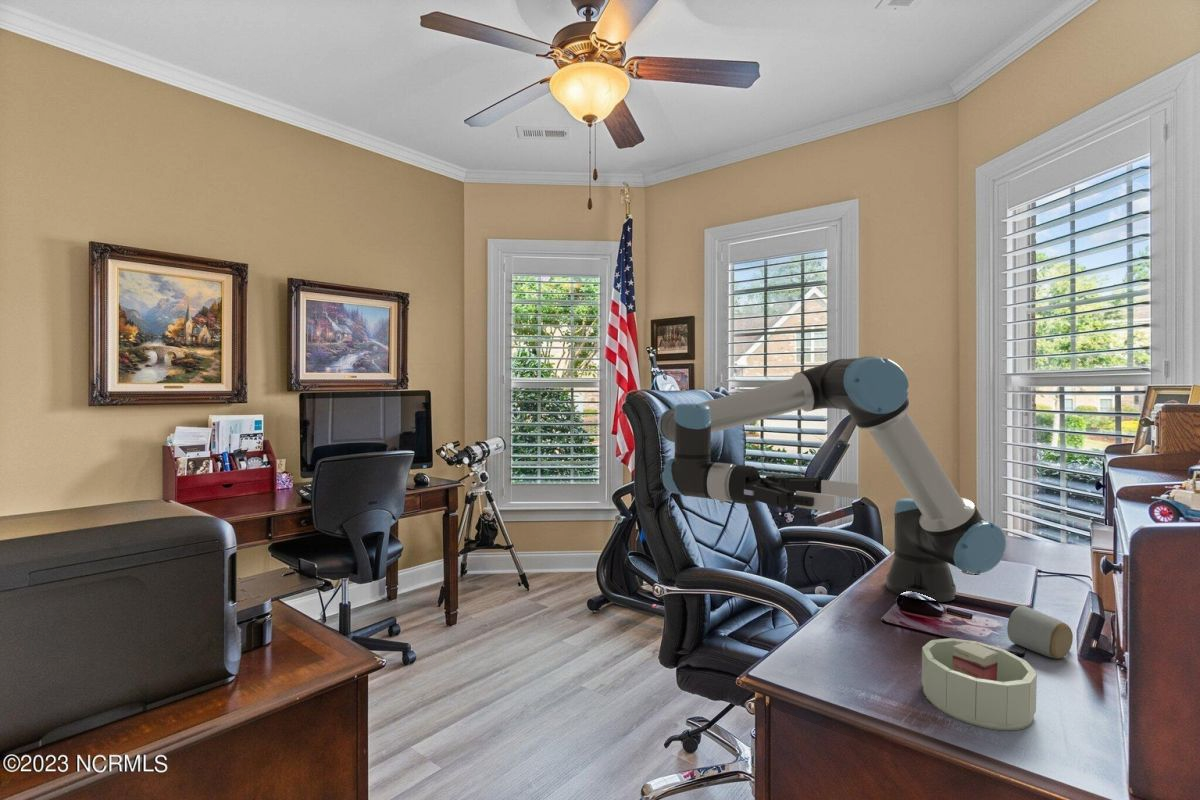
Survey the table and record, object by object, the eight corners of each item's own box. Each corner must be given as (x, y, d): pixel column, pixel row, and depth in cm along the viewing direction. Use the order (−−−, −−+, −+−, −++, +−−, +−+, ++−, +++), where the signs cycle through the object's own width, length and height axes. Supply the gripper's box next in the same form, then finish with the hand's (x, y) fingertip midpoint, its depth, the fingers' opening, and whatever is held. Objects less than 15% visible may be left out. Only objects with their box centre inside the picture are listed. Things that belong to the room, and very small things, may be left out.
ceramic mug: (1053, 665, 104) (1054, 624, 104) (1005, 646, 111) (1006, 607, 111) (1084, 654, 109) (1085, 614, 108) (1036, 636, 116) (1037, 599, 116)
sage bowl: (902, 682, 98) (903, 643, 98) (976, 673, 101) (977, 635, 101) (975, 736, 84) (976, 689, 83) (1059, 724, 86) (1060, 679, 86)
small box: (950, 692, 94) (951, 645, 93) (965, 685, 96) (966, 639, 95) (983, 707, 89) (984, 658, 89) (997, 700, 91) (998, 651, 91)
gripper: (760, 492, 123) (865, 505, 109) (704, 513, 103) (823, 533, 90) (760, 457, 122) (866, 467, 109) (704, 473, 103) (824, 486, 90)
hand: (847, 497), depth 99 cm, fingers open, 13 cm apart
